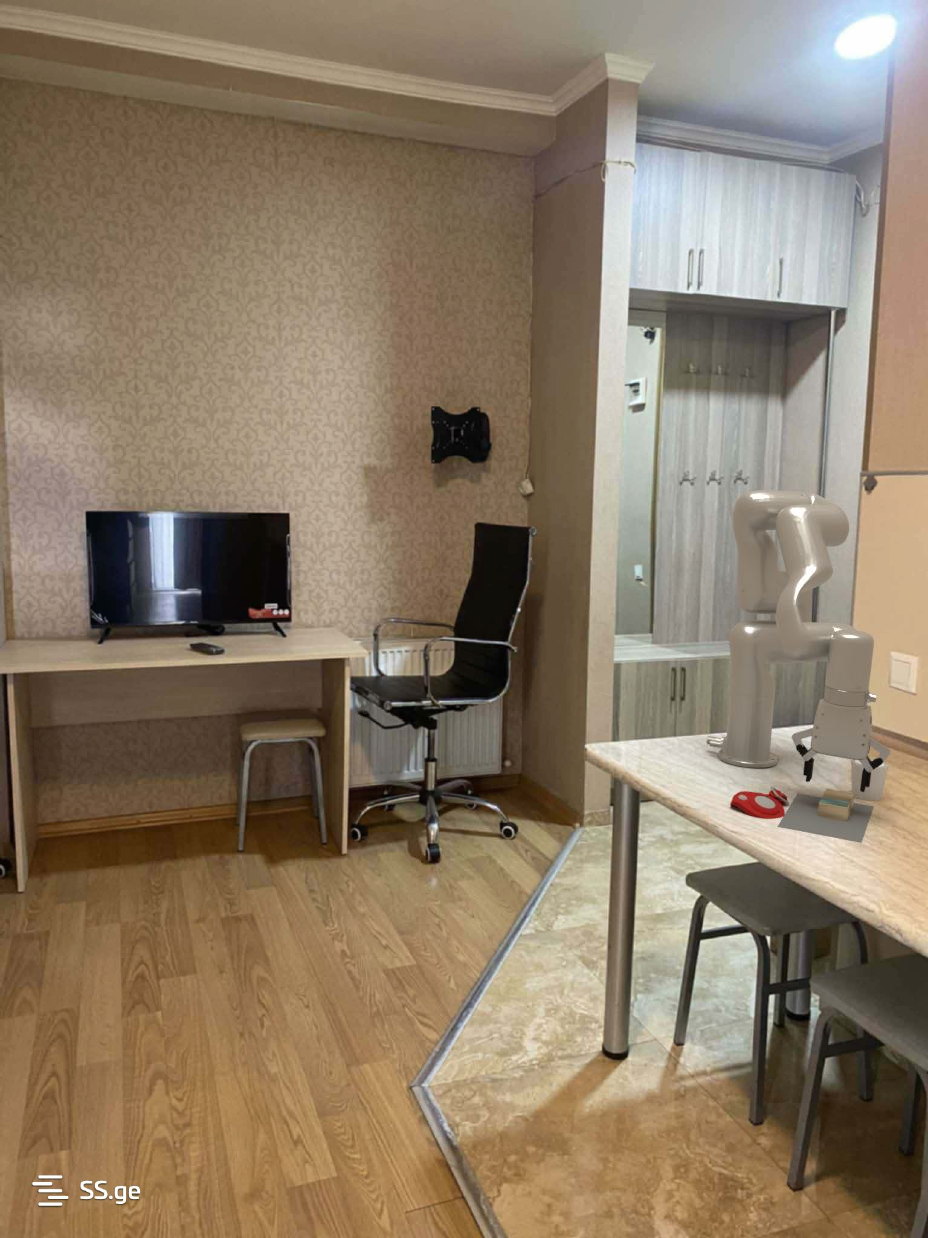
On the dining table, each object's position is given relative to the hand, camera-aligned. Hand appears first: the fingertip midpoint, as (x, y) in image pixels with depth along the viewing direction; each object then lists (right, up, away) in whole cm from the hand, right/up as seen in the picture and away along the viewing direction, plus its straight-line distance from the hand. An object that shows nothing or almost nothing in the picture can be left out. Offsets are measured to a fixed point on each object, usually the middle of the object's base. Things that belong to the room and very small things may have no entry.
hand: (835, 784), depth 181 cm
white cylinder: (+11, -4, +11) cm, 16 cm away
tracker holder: (-13, -6, 0) cm, 15 cm away
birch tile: (0, -5, 0) cm, 5 cm away
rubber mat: (-3, -6, -3) cm, 7 cm away
